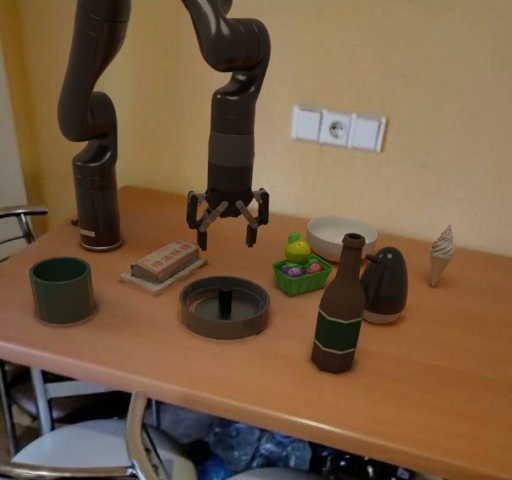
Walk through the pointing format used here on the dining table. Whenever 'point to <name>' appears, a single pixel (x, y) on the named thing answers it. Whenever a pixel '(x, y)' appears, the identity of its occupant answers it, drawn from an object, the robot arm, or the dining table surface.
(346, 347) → the beer bottle
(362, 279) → the penguin figurine
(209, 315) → the lid
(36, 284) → the pot
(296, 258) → the fruit basket
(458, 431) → the dining table surface
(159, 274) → the packaged product
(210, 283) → the pan
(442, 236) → the ice cream cone
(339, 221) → the cereal bowl
